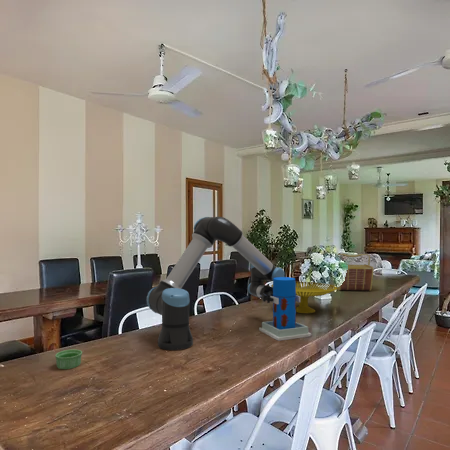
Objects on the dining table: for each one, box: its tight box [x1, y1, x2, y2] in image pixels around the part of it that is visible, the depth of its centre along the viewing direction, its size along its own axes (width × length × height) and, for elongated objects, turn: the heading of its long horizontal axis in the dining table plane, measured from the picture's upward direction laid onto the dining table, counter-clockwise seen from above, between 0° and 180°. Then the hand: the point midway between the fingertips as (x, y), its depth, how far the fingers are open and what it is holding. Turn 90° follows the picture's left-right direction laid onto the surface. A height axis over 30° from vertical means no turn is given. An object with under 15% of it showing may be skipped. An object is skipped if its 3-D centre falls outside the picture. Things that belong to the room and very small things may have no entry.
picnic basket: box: [337, 253, 375, 292], centre depth 298 cm, size 29×26×30 cm
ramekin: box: [54, 348, 83, 370], centre depth 130 cm, size 9×9×4 cm
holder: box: [258, 320, 312, 341], centre depth 171 cm, size 18×18×4 cm
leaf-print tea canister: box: [272, 276, 297, 330], centre depth 171 cm, size 11×11×25 cm
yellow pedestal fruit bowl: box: [270, 281, 338, 314], centre depth 219 cm, size 40×40×15 cm
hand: (289, 300), depth 167 cm, fingers open, 11 cm apart
